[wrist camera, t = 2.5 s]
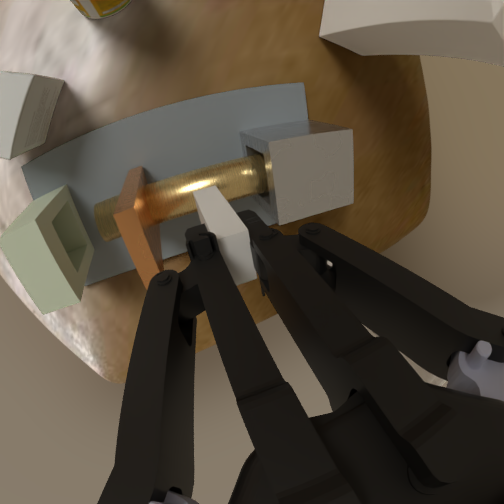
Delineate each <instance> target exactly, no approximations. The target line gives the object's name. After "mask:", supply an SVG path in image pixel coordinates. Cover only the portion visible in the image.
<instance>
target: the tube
mask: <svg viewBox="0 0 504 504" xmlns="http://www.w3.org/2000/svg"><path fill="white" fill-rule="evenodd" d="M211 186H216V187H217V188H218V190H219V191H220V192H221V194H222V195H223V196H224V198H225V199H226V200H227V202H231V201H235V200H238V199H242V198H245V197H249V196H253V195H256V194H260V193H264V192H267V191H269V189H268V181H267V174H266V167H265V160H264V154H263V153H258V154H254V155H250V156H245V157H241V158H237V159H233V160H229V161H225V162H221V163H217V164H213V165H210V166H206V167H202V168H199V169H195V170H192V171H189V172H185V173H182V174H178V175H175V176H172V177H169V178H166V179H162V180H159V181H156V182H153V183H150V184H148V183H147V180H146V177H145V173H144V170H143V167H142V166H139V167H136V168H133V169H131V170H129V171H128V174H127V177H126V179H125V182H124V185H123V187H122V190H121V193H120V194H119V195H116V196H114V197H111V198H109V199H106V200H103V201H101V202H98V203H96V204H95V205H94V218H95V222H96V225H97V228H98V231H99V233H100V235H101V237H102V238H103V240H104V241H106V242H109V241H112V240H115V239H117V238H120V237H122V238H123V240H124V242H125V245H126V247H127V249H128V252H129V254H130V256H131V258H132V260H133V263H134V265H135V267H136V269H137V271H138V273H139V275H140V277H141V279H142V281H143V283H144V285H145V287H146V289H147V290H148V286H149V282H150V281H151V279H152V277H154V276H155V275H156V274H157V273H159V272H161V271H164V267H163V258H162V248H161V237H160V224H161V223H164V222H167V221H170V220H173V219H176V218H179V217H182V216H185V215H188V214H191V213H195V212H198V210H197V207H196V203H195V199H194V195H193V192H194V191H198V190H201V189H204V188H208V187H211Z"/></svg>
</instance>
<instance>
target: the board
mask: <svg viewBox="0 0 504 504" xmlns="http://www.w3.org/2000/svg"><path fill="white" fill-rule="evenodd" d="M301 120H308V114H307V105H306V97H305V89H304V83H289V84H278V85H269V86H260V87H253V88H246V89H239V90H233V91H228V92H222V93H217V94H212V95H207V96H202V97H198V98H193V99H189V100H185V101H181V102H177V103H173V104H170V105H166V106H162V107H159V108H156V109H152V110H149V111H146V112H143V113H140V114H137V115H134V116H131V117H128V118H125V119H122V120H119V121H117V122H114V123H111V124H109V125H106V126H103V127H101V128H98V129H96V130H94V131H91V132H89V133H87V134H84V135H82V136H80V137H77V138H75V139H73V140H71V141H69V142H67V143H65V144H62V145H60V146H58V147H56V148H54V149H52V150H51V151H49V152H47V153H45V154H43V155H41V156H39V157H37V158H36V159H34V160H32V161H30V162H29V163H27V164H25V165H23V166H22V167H21V168H22V171H23V174H24V176H25V179H26V182H27V185H28V187H29V190H30V193H31V195H32V198H33V200H35V199H37V198H39V197H41V196H43V195H45V194H47V193H49V192H51V191H53V190H55V189H57V188H59V187H62V186H64V185H66V184H67V186H68V189H69V192H70V194H71V197H72V199H73V202H74V204H75V207H76V209H77V212H78V214H79V216H80V219H81V221H82V223H83V226H84V228H85V230H86V232H87V234H88V237H89V239H90V241H91V243H92V245H93V247H94V249H95V250H94V253H93V257H92V260H91V263H90V267H89V270H88V274H87V278H86V282H85V285H84V286H87V285H89V284H92V283H95V282H98V281H101V280H104V279H107V278H110V277H112V276H115V275H118V274H121V273H124V272H127V271H130V270H133V269H136V267H135V265H134V263H133V260H132V258H131V256H130V254H129V252H128V249H127V247H126V245H125V242H124V240H123V238H122V237H120V238H117V239H115V240H112V241H109V242H106V241H104V240H103V238H102V237H101V235H100V233H99V231H98V228H97V225H96V222H95V218H94V205H95V204H96V203H98V202H101V201H103V200H106V199H109V198H111V197H114V196H116V195H119V194H120V193H121V190H122V187H123V185H124V182H125V179H126V177H127V174H128V171H129V170H131V169H133V168H136V167H139V166H142V167H143V170H144V173H145V177H146V180H147V183H148V184H150V183H153V182H156V181H159V180H162V179H166V178H169V177H172V176H175V175H178V174H182V173H185V172H189V171H192V170H195V169H199V168H202V167H206V166H210V165H213V164H217V163H221V162H225V161H229V160H233V159H237V158H241V157H243V152H242V146H241V141H240V135H239V131H243V130H248V129H253V128H258V127H263V126H269V125H275V124H281V123H287V122H294V121H301ZM228 203H229V204H230V206H231V207H232V209H233V210H234V211H235V213H238V212H241V211H244V210H248V209H249V210H251V211H254V212H255V213H256V214H257V215H258V216H259V217H260V218H261V220H263V221H264V223H265V224H266V225H267V226H269V225H273V224H276V222H275V221H274V220H273V219H272V218H271V217H270V216H269V215H268V214H267V213H266V211H265V210H264V209H263V208H262V207H261V206H260V205H259V204H258V203H257V202H256V201H255V200H254V199H253V198H252V197H251V196H249V197H245V198H242V199H238V200H235V201H231V202H228ZM197 225H201V221H200V218H199V214H198V212H195V213H191V214H188V215H185V216H182V217H179V218H176V219H173V220H170V221H167V222H164V223H161V224H160V237H161V248H162V258H163V259H166V258H169V257H172V256H175V255H178V254H181V253H184V252H187V251H188V250H187V247H186V238H185V232H186V230H187V229H188V228H191V227H194V226H197Z"/></svg>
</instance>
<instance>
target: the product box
mask: <svg viewBox="0 0 504 504" xmlns="http://www.w3.org/2000/svg"><path fill="white" fill-rule="evenodd" d="M63 83H64V80H61V79H57V78H52V77H47V76H42V75H36V74H28V73H19V72H8V71H0V158H3V159H8V160H11V159H12V158H14V157H16V156H18V155H20V154H22V153H24V152H26V151H29V150H31V149H33V148H35V147H38V146H40V145H42V144H44V143H45V141H46V137H47V133H48V130H49V126H50V122H51V119H52V115H53V112H54V109H55V106H56V103H57V100H58V97H59V94H60V91H61V89H62V86H63Z"/></svg>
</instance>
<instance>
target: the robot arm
mask: <svg viewBox="0 0 504 504" xmlns="http://www.w3.org/2000/svg"><path fill="white" fill-rule="evenodd" d="M193 195H194V199H195V203H196V207H197V210H198V214H199V218H200V221H201V225H197V226H194V227H191V228H188V229H187V230H186V232H185V238H186V247H187V250H188V253H189V256H190V259H191V262H190V264H189V266H188V267H187V268H186V269H185V270H183V271H182V272H180V273H177V272H176V271H174V270H165V271H161V272H159V273H157V274H156V275H155V276H154V277H152V279H151V281H150V282H149V286H148V290H147V293H146V297H145V300H144V304H143V308H142V312H141V316H140V320H139V324H138V328H137V332H136V336H135V340H134V345H133V349H132V354H131V358H130V363H129V368H128V373H127V378H126V384H125V390H124V395H123V401H122V408H121V414H120V421H119V428H118V436H117V445H116V455H115V465H114V468H113V470H112V472H111V474H110V476H109V478H108V481H107V483H106V485H105V487H104V490H103V492H102V494H101V497H100V499H99V501H98V503H97V504H199V503H198V502H196V501H195V500H193V499H191V497H192V492H193V485H194V371H195V345H196V325H197V319H196V316H197V315H198V314H200V313H202V312H203V311H205V310H206V313H207V316H208V319H209V322H210V326H211V329H212V332H213V335H214V338H215V341H216V344H217V346H218V350H219V353H220V355H221V358H222V361H223V364H224V367H225V370H226V372H227V375H228V378H229V381H230V384H231V386H232V389H233V392H234V394H235V397H236V401H237V405H238V408H239V411H240V413H241V416H242V418H243V421H244V423H245V426H246V428H247V431H248V433H249V436H250V438H251V440H252V443H253V445H254V448H255V450H254V451H253V452H252V453H251V454H250V455H249V457H248V458H247V460H246V461H245V463H244V465H243V467H242V469H241V472H240V474H239V477H238V479H237V482H236V485H235V487H234V490H233V492H232V495H231V498H230V500H229V503H228V504H504V318H503V317H500V316H497V315H493V314H490V313H487V312H484V311H480V310H478V309H475V308H471V307H469V306H468V305H466V304H464V303H463V302H461V301H460V300H458V299H456V298H455V297H453V296H452V295H450V294H448V293H447V292H445V291H443V290H442V289H440V288H438V287H436V286H435V285H433V284H432V283H430V282H428V281H427V280H425V279H423V278H422V277H420V276H418V275H416V274H414V273H413V272H411V271H409V270H408V269H406V268H404V267H402V266H400V265H399V264H397V263H395V262H393V261H391V260H390V259H388V258H386V257H384V256H382V255H381V254H379V253H377V252H375V251H373V250H371V249H369V248H367V247H366V246H364V245H362V244H360V243H358V242H356V241H354V240H352V239H350V238H348V237H346V236H344V235H343V234H341V233H339V232H337V231H335V230H333V229H331V228H329V227H327V226H325V225H322V224H319V223H307V224H305V225H302V226H301V227H300V228H299V230H298V232H299V234H298V235H288V236H284V235H283V234H282V233H281V232H280V231H278V230H277V229H272V228H269V227H268V226H267V225H266V224H265V223H264V221H263V220H261V218H260V217H259V216H258V215H257V214H256V213H255V212H254V211H251V210H249V209H248V210H244V211H241V212H238V213H235V211H234V210H233V209H232V207H231V206H230V204H229V203H228V202H227V200H226V199H225V198H224V196H223V195H222V194H221V192H220V191H219V190H218V188H217V187H216V186H211V187H208V188H204V189H201V190H198V191H194V192H193ZM327 260H328V261H330V262H331V263H332V266H329V265H328V264H327ZM256 272H257V273H258V275H259V279H260V284H261V290H262V295H263V296H265V293H266V294H267V296H268V298H269V299H270V301H271V303H272V304H273V306H274V308H275V309H276V311H277V313H278V314H279V316H280V318H281V319H282V321H283V323H284V324H285V326H286V327H287V329H288V331H289V333H290V334H291V336H292V338H293V339H294V341H295V343H296V344H297V346H298V348H299V349H300V351H301V353H302V354H303V356H304V357H305V359H306V361H307V362H308V364H309V366H310V367H311V369H312V371H313V372H314V374H315V376H316V377H317V379H318V381H319V382H320V384H321V385H322V387H323V389H324V390H325V392H326V394H327V396H328V398H329V401H330V405H331V408H332V411H333V412H332V413H328V414H324V415H320V416H315V417H310V418H308V416H307V414H306V412H305V410H304V409H303V407H302V405H301V403H300V401H299V400H298V398H297V396H296V394H295V392H294V390H293V389H292V387H291V386H290V384H289V383H288V382H285V380H284V379H283V378H282V375H281V373H280V371H279V370H278V368H277V366H276V364H275V362H274V360H273V358H272V356H271V354H270V352H269V350H268V348H267V346H266V344H265V342H264V340H263V338H262V336H261V334H260V332H259V330H258V329H257V326H256V324H255V322H254V320H253V318H252V316H251V314H250V312H249V310H248V308H247V306H246V304H245V302H244V300H243V298H242V296H241V294H240V292H239V290H238V288H237V285H240V284H242V283H245V282H248V281H251V280H254V279H257V275H256ZM362 324H363V325H365V326H366V327H367V328H369V329H370V330H372V331H373V332H374V333H376V334H377V335H378V336H379V337H373V336H372V335H371V334H370V333H369V332H368V331H367V329H366V328H365V327H364V326H363V325H362ZM398 350H399V351H400V352H401V353H403V354H404V355H405V356H407V357H408V358H409V359H411V360H412V361H413V362H415V363H416V364H417V365H419V366H420V367H422V368H423V369H425V370H426V371H428V372H429V373H431V374H433V375H435V376H437V377H439V378H441V379H444V380H446V381H448V384H447V388H445V387H441V386H438V385H434V384H430V383H427V382H424V381H423V379H422V378H421V377H420V376H419V375H418V373H417V372H416V371H415V370H414V369H413V367H412V366H411V365H410V364H409V363H408V361H407V360H406V359H405V358H404V357H403V355H402V354H401V353H400V352H399V351H398Z"/></svg>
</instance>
